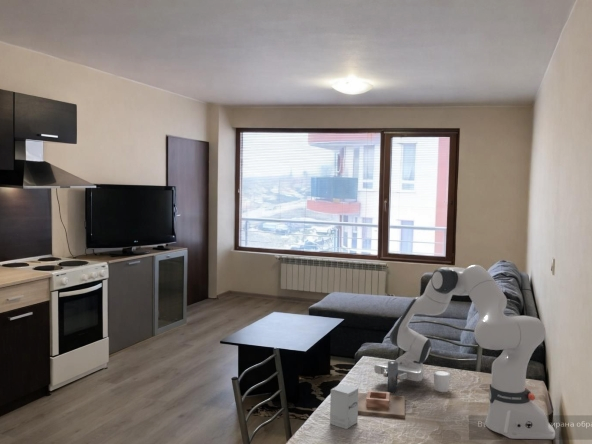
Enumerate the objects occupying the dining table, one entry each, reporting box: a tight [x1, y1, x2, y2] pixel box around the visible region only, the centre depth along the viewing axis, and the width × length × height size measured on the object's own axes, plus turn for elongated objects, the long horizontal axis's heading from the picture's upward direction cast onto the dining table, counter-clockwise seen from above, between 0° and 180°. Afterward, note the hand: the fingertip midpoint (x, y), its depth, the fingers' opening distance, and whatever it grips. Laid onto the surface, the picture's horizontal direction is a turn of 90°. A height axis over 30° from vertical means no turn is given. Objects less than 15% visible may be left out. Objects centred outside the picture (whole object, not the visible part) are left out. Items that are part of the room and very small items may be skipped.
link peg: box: [386, 360, 399, 394], centre depth 220 cm, size 4×4×12 cm
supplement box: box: [329, 383, 359, 430], centre depth 189 cm, size 7×7×13 cm
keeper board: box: [358, 390, 406, 419], centre depth 204 cm, size 20×18×4 cm
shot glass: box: [433, 370, 451, 393], centre depth 223 cm, size 7×7×7 cm
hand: (391, 376), depth 219 cm, fingers open, 5 cm apart
